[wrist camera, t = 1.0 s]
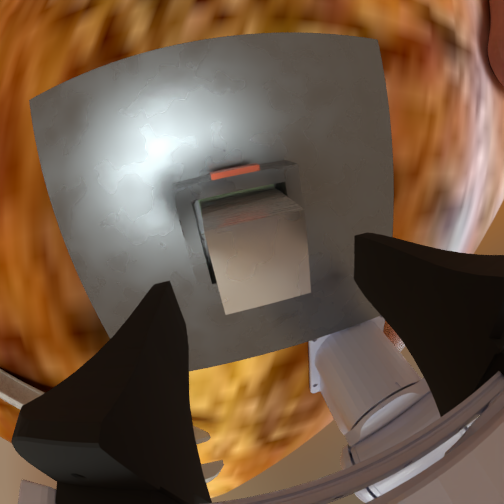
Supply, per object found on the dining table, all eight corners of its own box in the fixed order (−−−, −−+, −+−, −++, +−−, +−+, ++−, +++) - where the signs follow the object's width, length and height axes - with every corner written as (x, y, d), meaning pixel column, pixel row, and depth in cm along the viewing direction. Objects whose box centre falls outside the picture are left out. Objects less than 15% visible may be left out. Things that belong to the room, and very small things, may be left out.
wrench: (-14, 339, 20) (222, 420, 26) (-10, 350, 21) (218, 428, 27) (-45, 381, 13) (225, 484, 19) (-39, 391, 13) (220, 489, 19)
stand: (375, 305, 24) (396, 327, 21) (137, 367, 21) (134, 398, 18) (365, 43, 14) (395, 33, 11) (40, 101, 12) (12, 98, 9)
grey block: (279, 247, 18) (313, 293, 13) (213, 263, 17) (223, 317, 12) (270, 181, 16) (306, 206, 11) (197, 197, 15) (200, 230, 10)
